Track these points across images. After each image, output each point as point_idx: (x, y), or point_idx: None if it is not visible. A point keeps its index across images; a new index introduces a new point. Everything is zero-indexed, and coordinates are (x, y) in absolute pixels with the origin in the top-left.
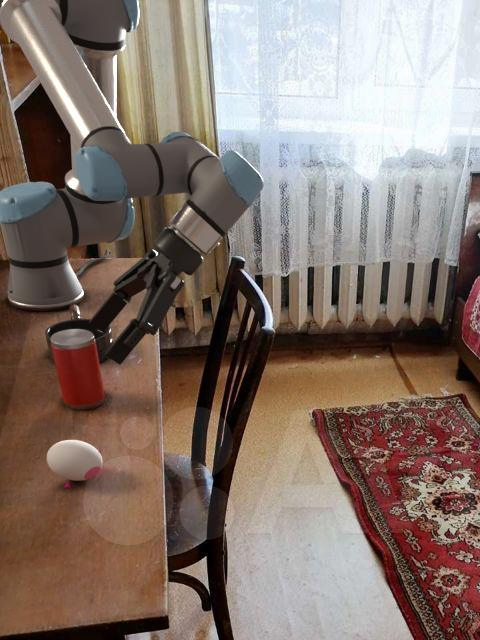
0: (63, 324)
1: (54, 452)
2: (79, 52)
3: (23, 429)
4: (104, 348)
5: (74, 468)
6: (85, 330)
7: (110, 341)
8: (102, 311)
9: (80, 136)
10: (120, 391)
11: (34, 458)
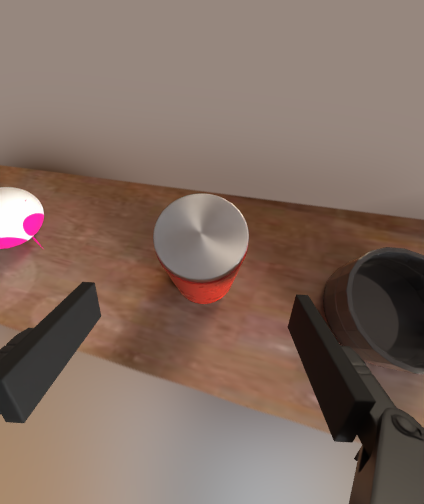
0: None
1: None
2: None
3: (163, 199)
4: (352, 342)
5: None
6: (227, 267)
7: (376, 361)
8: (313, 333)
9: None
10: (212, 332)
11: (94, 199)
